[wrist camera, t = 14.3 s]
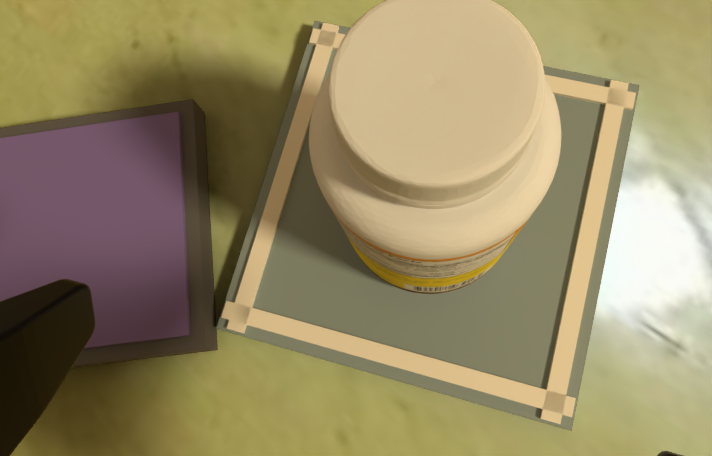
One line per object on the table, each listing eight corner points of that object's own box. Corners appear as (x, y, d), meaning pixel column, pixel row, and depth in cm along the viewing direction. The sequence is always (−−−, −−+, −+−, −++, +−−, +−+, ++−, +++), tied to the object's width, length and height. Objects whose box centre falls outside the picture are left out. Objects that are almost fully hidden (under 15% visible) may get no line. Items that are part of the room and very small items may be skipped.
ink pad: (217, 349, 21) (203, 348, 20) (-27, 379, 22) (-56, 379, 20) (204, 112, 23) (191, 96, 22) (-18, 145, 24) (-44, 132, 22)
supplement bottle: (415, 111, 22) (413, -105, 12) (543, 205, 20) (661, 51, 11) (314, 228, 21) (222, 106, 11) (440, 332, 20) (462, 298, 10)
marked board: (566, 429, 19) (572, 431, 19) (221, 329, 21) (214, 328, 20) (633, 92, 22) (641, 83, 21) (317, 29, 23) (313, 18, 23)
